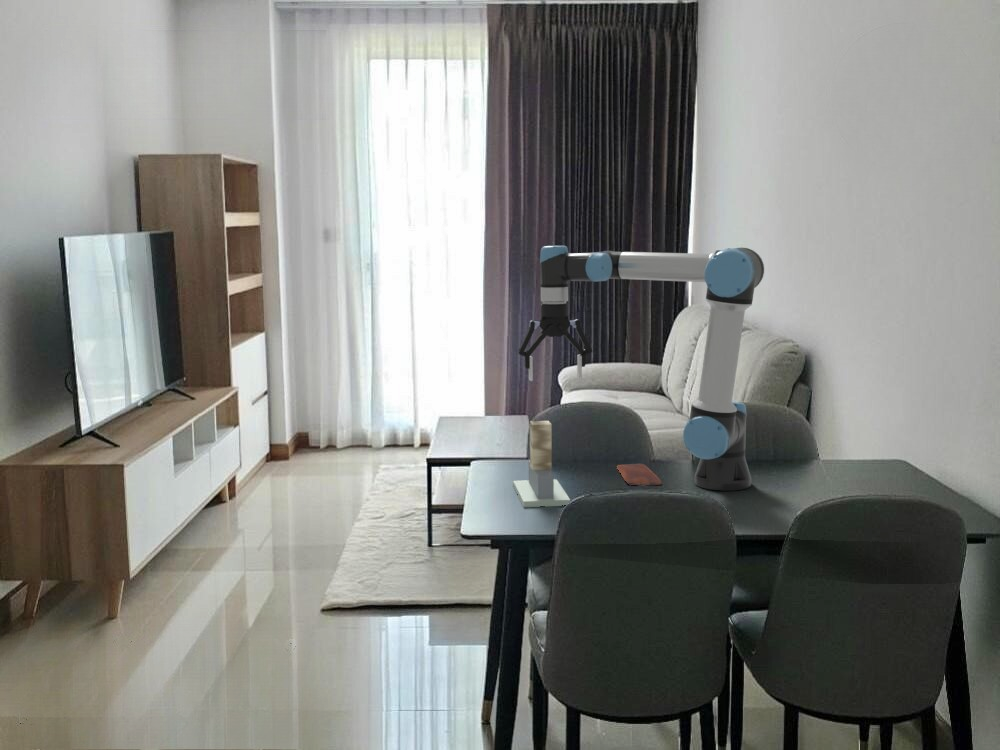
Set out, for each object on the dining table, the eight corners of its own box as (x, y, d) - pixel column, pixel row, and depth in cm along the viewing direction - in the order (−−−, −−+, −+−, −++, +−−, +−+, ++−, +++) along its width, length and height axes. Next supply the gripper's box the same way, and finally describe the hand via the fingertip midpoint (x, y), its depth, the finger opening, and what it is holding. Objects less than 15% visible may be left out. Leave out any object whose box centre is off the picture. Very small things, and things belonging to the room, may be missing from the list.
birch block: (548, 465, 291) (548, 420, 289) (551, 469, 286) (551, 424, 284) (529, 465, 290) (529, 421, 289) (532, 470, 286) (532, 424, 284)
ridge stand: (513, 486, 299) (512, 459, 298) (556, 484, 301) (556, 457, 300) (523, 507, 278) (523, 478, 277) (570, 505, 279) (570, 476, 278)
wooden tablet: (664, 488, 299) (664, 482, 299) (627, 488, 298) (627, 482, 298) (647, 465, 325) (647, 460, 325) (613, 466, 325) (613, 460, 325)
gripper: (596, 300, 305) (597, 376, 308) (507, 302, 302) (508, 379, 305) (602, 302, 297) (602, 379, 300) (510, 304, 295) (511, 382, 298)
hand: (555, 379), depth 303 cm, fingers open, 13 cm apart
